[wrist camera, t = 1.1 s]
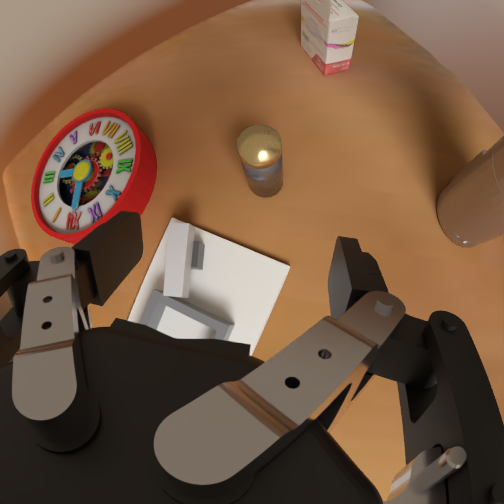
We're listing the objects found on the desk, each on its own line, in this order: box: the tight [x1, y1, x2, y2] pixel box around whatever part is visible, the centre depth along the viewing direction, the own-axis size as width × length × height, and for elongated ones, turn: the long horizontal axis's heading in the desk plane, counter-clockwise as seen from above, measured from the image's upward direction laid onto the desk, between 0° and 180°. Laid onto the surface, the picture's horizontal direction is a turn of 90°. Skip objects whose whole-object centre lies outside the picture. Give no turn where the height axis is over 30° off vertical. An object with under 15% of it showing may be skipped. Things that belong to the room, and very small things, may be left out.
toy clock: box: [31, 109, 157, 244], centre depth 40 cm, size 20×6×20 cm
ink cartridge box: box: [301, 0, 359, 75], centre depth 35 cm, size 9×5×15 cm, turn 21°
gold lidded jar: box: [237, 125, 283, 197], centre depth 34 cm, size 4×4×10 cm
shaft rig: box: [128, 217, 290, 356], centre depth 34 cm, size 27×16×6 cm, turn 156°
